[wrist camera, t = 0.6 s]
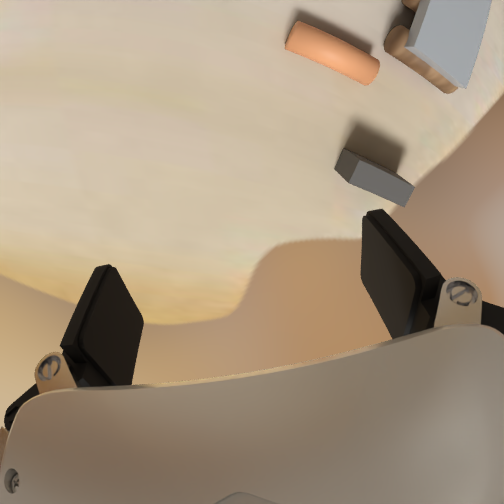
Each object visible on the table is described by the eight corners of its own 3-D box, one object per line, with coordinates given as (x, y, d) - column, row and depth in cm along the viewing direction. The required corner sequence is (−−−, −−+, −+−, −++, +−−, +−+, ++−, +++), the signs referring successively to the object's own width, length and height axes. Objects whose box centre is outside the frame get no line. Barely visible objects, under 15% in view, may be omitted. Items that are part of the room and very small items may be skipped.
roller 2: (380, 53, 28) (398, 52, 24) (390, 26, 26) (409, 23, 22) (436, 91, 30) (456, 96, 27) (445, 66, 28) (465, 69, 24)
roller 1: (283, 45, 28) (286, 52, 26) (296, 18, 25) (300, 23, 23) (358, 78, 30) (367, 90, 28) (373, 55, 28) (383, 64, 25)
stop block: (343, 148, 35) (359, 159, 31) (396, 173, 37) (414, 187, 33) (334, 169, 36) (348, 183, 32) (386, 191, 39) (404, 207, 34)
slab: (436, -49, 15) (445, -52, 13) (482, -8, 17) (493, -8, 15) (403, 46, 24) (414, 46, 22) (455, 86, 26) (466, 88, 24)
